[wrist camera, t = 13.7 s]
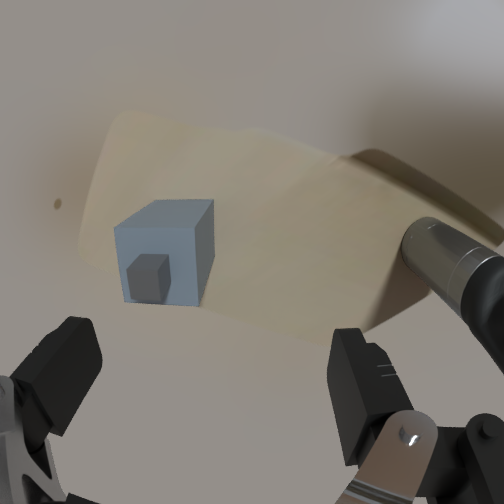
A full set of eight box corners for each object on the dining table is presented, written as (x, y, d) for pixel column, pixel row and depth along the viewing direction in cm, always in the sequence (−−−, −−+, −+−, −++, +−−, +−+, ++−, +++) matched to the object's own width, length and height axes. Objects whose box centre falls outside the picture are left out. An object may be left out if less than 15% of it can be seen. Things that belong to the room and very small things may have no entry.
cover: (213, 199, 42) (185, 241, 25) (214, 256, 45) (192, 327, 28) (155, 200, 42) (96, 240, 25) (159, 255, 45) (111, 321, 28)
